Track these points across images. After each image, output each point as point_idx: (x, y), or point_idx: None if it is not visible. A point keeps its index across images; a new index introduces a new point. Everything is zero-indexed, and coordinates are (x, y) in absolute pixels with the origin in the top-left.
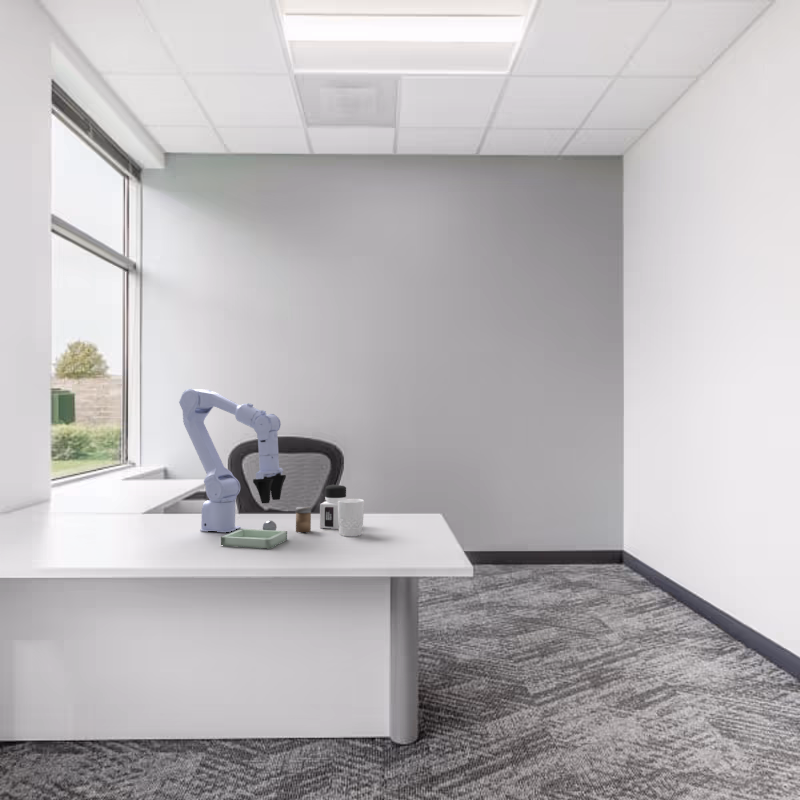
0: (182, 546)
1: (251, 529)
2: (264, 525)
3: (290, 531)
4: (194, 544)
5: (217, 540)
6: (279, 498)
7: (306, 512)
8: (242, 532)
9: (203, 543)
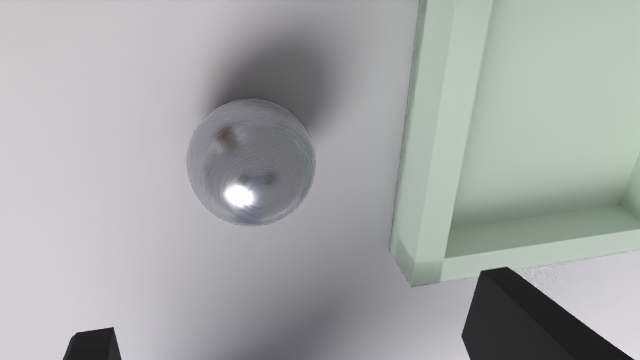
0: None
1: (429, 217)
2: (306, 194)
3: (39, 13)
4: None
5: None
6: (97, 341)
7: None
8: (448, 246)
9: None
